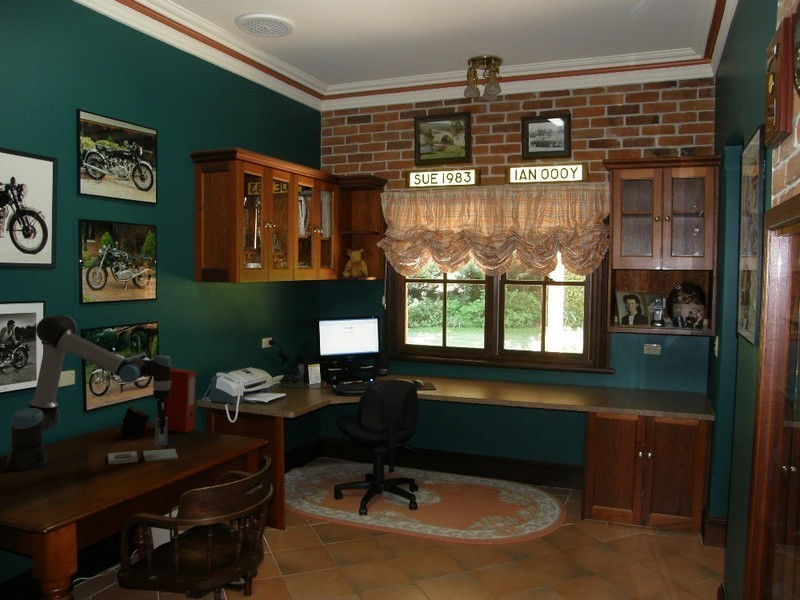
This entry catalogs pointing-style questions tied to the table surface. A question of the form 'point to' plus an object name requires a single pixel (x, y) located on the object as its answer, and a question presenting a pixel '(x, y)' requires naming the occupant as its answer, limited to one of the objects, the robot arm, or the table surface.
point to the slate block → (158, 432)
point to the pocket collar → (122, 460)
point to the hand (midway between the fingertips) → (161, 439)
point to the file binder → (181, 401)
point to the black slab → (134, 423)
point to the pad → (160, 455)
